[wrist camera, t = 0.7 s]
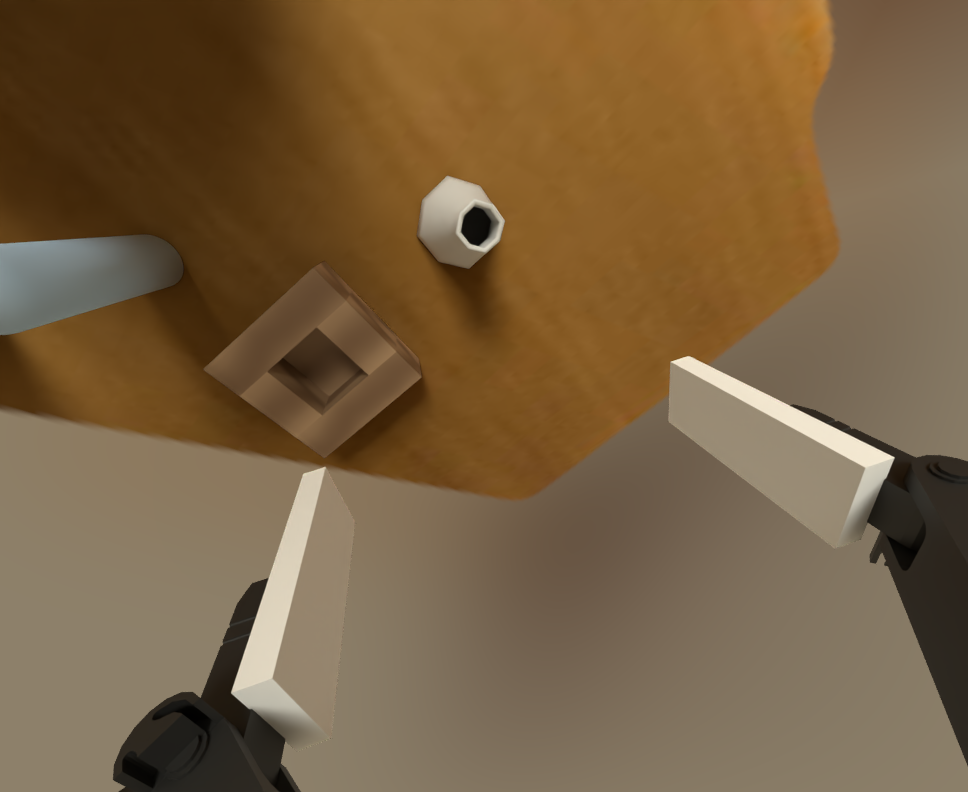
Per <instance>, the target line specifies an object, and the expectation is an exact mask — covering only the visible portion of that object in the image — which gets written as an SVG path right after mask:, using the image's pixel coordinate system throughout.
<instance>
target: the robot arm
mask: <svg viewBox="0 0 968 792" xmlns="http://www.w3.org/2000/svg"><path fill="white" fill-rule="evenodd" d="M668 421H669V422H670V423H671V424H672V425H674V426H675V427H676V428H678V429H679V430H680V431H682V432H683V433H684V434H685V435H687V436H688V437H689V438H691V439H692V440H693V441H695V442H696V443H697V444H699V445H700V446H701V447H702V448H704V449H705V450H706V451H708V452H709V453H710V454H712V455H713V456H714V457H716V458H717V459H718V460H720V461H721V462H722V463H724V464H725V465H726V466H727V467H729V468H730V469H731V470H733V471H734V472H735V473H736V474H738V475H739V476H740V477H742V478H743V479H744V480H746V481H747V482H748V483H750V484H751V485H752V486H754V487H755V488H756V489H757V490H759V491H760V492H761V493H763V494H764V495H765V496H767V497H768V498H769V499H771V500H772V501H773V502H774V503H776V504H777V505H778V506H780V507H781V508H782V509H784V510H785V511H786V512H788V513H789V514H790V515H792V516H793V517H794V518H795V519H797V520H798V521H799V522H801V523H802V524H803V525H805V526H806V527H807V528H809V529H810V530H811V531H812V532H814V533H815V534H816V535H818V536H819V537H820V538H822V539H823V540H824V541H826V542H827V543H828V544H829V545H831V546H832V547H834V548H835V549H836V548H839V547H842V546H845V545H847V544H850V543H852V542H855V541H858V540H861V538H862V535H863V533H864V530H865V528H866V525H867V523H870V524H871V525H872V526H874V527H875V528H877V529H878V530H880V534H879V536H878V538H877V540H876V542H875V545H874V547H873V549H872V551H871V554H870V562H871V563H876V562H877V560H878V558H879V556H880V554H881V553H883V555H884V557H885V560H886V562H885V564H884V565H885V566H888V567H889V570H890V572H891V575H892V577H893V580H894V582H895V585H896V587H897V590H898V593H899V595H900V597H901V600H902V603H903V605H904V608H905V610H906V613H907V615H908V618H909V620H910V622H911V625H912V627H913V630H914V633H915V635H916V638H917V640H918V643H919V645H920V648H921V650H922V652H923V655H924V658H925V660H926V663H927V665H928V667H929V670H930V673H931V675H932V678H933V680H934V683H935V685H936V688H937V690H938V692H939V695H940V698H941V700H942V703H943V705H944V708H945V710H946V713H947V715H948V718H949V720H950V723H951V725H952V728H953V730H954V733H955V735H956V738H957V740H958V743H959V745H960V748H961V750H962V753H963V755H964V758H965V760H966V763H967V765H968V462H967V461H964V460H961V459H958V458H953V457H947V456H941V455H926V456H921V457H917V458H916V457H913V456H911V455H909V454H907V453H905V452H903V451H901V450H898V449H897V448H894V447H892V446H890V445H888V444H886V443H884V442H882V441H880V440H877V439H875V438H873V437H871V436H869V435H867V434H865V433H863V432H861V431H858V430H856V429H851V428H850V427H849V426H848V425H846V424H843V423H842V422H839V421H835V420H834V419H833V418H831V417H829V416H827V415H824V414H822V413H820V412H818V411H816V410H813V409H809V408H805V407H801V406H798V405H790V406H789V405H787V404H785V403H783V402H781V401H779V400H777V399H775V398H773V397H771V396H769V395H767V394H765V393H763V392H761V391H758V390H757V389H755V388H752V387H750V386H748V385H746V384H744V383H742V382H740V381H738V380H736V379H734V378H732V377H730V376H728V375H726V374H724V373H722V372H720V371H718V370H716V369H714V368H712V367H710V366H708V365H706V364H704V363H702V362H700V361H698V360H696V359H694V358H692V357H690V356H688V357H684V358H681V359H678V360H675V361H671V364H670V392H669V420H668ZM354 530H355V521H354V519H353V517H352V515H351V513H350V511H349V509H348V508H347V506H346V504H345V502H344V500H343V498H342V496H341V495H340V493H339V491H338V489H337V487H336V485H335V483H334V481H333V480H332V478H331V476H330V474H329V472H328V470H327V468H326V467H324V468H320V469H317V470H314V471H311V472H308V473H304V474H303V476H302V479H301V483H300V486H299V489H298V492H297V495H296V498H295V501H294V504H293V507H292V510H291V513H290V516H289V519H288V522H287V525H286V528H285V531H284V534H283V537H282V540H281V543H280V546H279V549H278V552H277V555H276V558H275V561H274V564H273V567H272V571H271V573H270V576H269V578H267V579H264V580H261V581H258V582H255V583H252V584H251V585H250V587H249V588H248V590H247V591H246V592H245V594H244V595H243V596H242V598H241V599H240V601H239V602H238V604H237V606H236V608H235V611H234V614H233V616H232V619H231V621H230V628H228V629H227V631H226V635H225V637H224V639H223V645H222V646H221V647H220V650H219V652H218V655H217V657H216V660H215V662H214V665H213V668H212V670H211V673H210V676H209V678H208V680H207V683H206V686H205V688H204V691H203V693H202V696H201V698H200V697H198V696H197V695H196V694H195V693H193V692H181V693H179V694H176V695H174V696H172V697H170V698H168V699H166V700H164V701H163V702H162V703H160V704H159V705H158V706H156V707H155V708H154V709H152V710H151V711H150V712H149V713H148V714H147V715H146V716H145V717H144V718H143V719H142V720H141V721H140V723H139V724H138V725H137V726H136V727H135V728H134V729H133V731H132V732H131V734H130V735H129V737H128V738H127V740H126V741H125V743H124V744H123V745H122V747H121V749H120V752H119V754H118V757H117V759H116V761H115V764H114V774H113V780H114V781H116V782H118V783H120V784H122V785H124V786H125V788H124V789H122V790H121V791H119V792H301V791H300V790H299V788H298V787H297V785H296V783H295V782H294V780H293V778H292V777H291V775H290V774H289V772H288V770H287V769H286V767H284V766H283V765H282V764H281V759H282V754H283V749H284V744H285V741H286V742H287V743H288V744H289V745H290V746H291V747H292V748H294V749H295V750H296V751H299V750H302V749H305V748H307V747H310V746H312V745H315V744H318V743H321V742H323V741H326V740H329V739H331V734H332V725H333V717H334V707H335V698H336V689H337V681H338V671H339V663H340V654H341V646H342V637H343V628H344V619H345V609H346V600H347V592H348V583H349V574H350V565H351V557H352V547H353V538H354Z"/></svg>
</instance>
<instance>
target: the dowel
mask: <svg viewBox="0 0 968 792" xmlns="http://www.w3.org/2000/svg"><path fill="white" fill-rule="evenodd" d="M183 271H184V267H183V262H182V259H181V257H180V255H179V253H178V252H177V251H176V250H175V248H174V247H173V246H172V245H170V244H169V243H168V242H166V241H165V240H163V239H161V238H159V237H156V236H153V235H146V234H143V235H128V236H112V237H97V238H82V239H67V240H52V241H37V242H22V243H7V244H0V335H9V334H15V333H19V332H22V331H25V330H29V329H32V328H35V327H39V326H42V325H45V324H48V323H52V322H55V321H58V320H62V319H65V318H68V317H71V316H75V315H78V314H81V313H85V312H88V311H91V310H94V309H98V308H101V307H104V306H108V305H111V304H114V303H117V302H121V301H124V300H127V299H131V298H134V297H137V296H140V295H144V294H147V293H150V292H154V291H157V290H160V289H163V288H167V287H170V286H173V285H175V284H176V283H177V282H179V280H180V279H181V278H182V275H183Z"/></svg>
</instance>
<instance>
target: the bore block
mask: <svg viewBox="0 0 968 792" xmlns="http://www.w3.org/2000/svg"><path fill="white" fill-rule="evenodd" d="M203 370H204V371H206V372H207V373H208V374H210V375H211V376H212V377H214V378H215V379H217V380H218V381H219V382H221V383H222V384H223V385H225V386H226V387H227V388H229V389H230V390H232V391H233V392H234V393H236V394H237V395H238V396H240V397H241V398H242V399H244V400H245V401H247V402H248V403H249V404H251V405H252V406H253V407H255V408H256V409H258V410H259V411H260V412H262V413H263V414H264V415H266V416H267V417H268V418H270V419H271V420H273V421H274V422H275V423H277V424H278V425H279V426H281V427H282V428H284V429H285V430H286V431H288V432H289V433H290V434H292V435H293V436H294V437H296V438H297V439H299V440H300V441H301V442H303V443H304V444H305V445H307V446H308V447H309V448H311V449H312V450H314V451H315V452H316V453H318V454H319V455H320V456H322V457H323V458H326V457H327V456H328V455H329V454H331V453H332V452H333V451H334V450H335V449H337V448H338V447H339V446H340V445H341V444H343V443H344V442H345V441H346V440H347V439H348V438H350V437H351V436H352V435H353V434H354V433H356V432H357V431H358V430H359V429H360V428H362V427H363V426H364V425H365V424H366V423H368V422H369V421H370V420H371V419H372V418H374V417H375V416H376V415H377V414H378V413H380V412H381V411H382V410H383V409H384V408H386V407H387V406H388V405H389V404H390V403H392V402H393V401H394V400H395V399H396V398H398V397H399V396H400V395H401V394H402V393H404V392H405V391H406V390H407V389H408V388H409V387H411V386H412V385H413V384H414V383H415V382H417V381H418V380H419V379H420V378H421V377H422V375H421V369H420V363H419V358H418V357H417V356H416V355H415V354H414V353H413V352H412V351H411V350H410V349H409V348H408V347H407V346H406V345H405V344H404V343H403V342H402V341H401V340H400V339H399V338H398V337H397V335H396V334H395V333H394V332H393V331H392V330H391V329H390V328H389V327H388V326H387V325H386V324H385V323H384V322H383V321H382V320H381V319H380V318H379V317H378V316H377V315H376V314H375V313H374V312H373V311H372V310H371V309H370V308H369V306H368V305H367V304H366V303H365V302H364V301H363V300H362V299H361V298H360V297H359V296H358V295H357V294H356V293H355V292H354V291H353V290H352V289H351V288H350V287H349V286H348V285H347V284H346V283H345V282H344V281H343V280H342V279H341V277H340V276H339V275H338V274H337V273H336V272H335V271H334V270H333V269H332V268H331V267H330V266H329V265H328V264H327V263H326V262H325V261H323V262H322V263H320V264H318V265H317V266H315V267H313V268H312V269H311V270H310V271H309V272H308V273H307V274H306V275H305V276H304V277H302V278H301V279H300V280H299V281H298V282H297V283H296V284H295V285H294V286H293V287H292V288H290V289H289V290H288V291H287V292H286V293H285V294H284V295H283V296H282V297H281V298H280V299H279V300H277V301H276V302H275V303H274V304H273V305H272V306H271V307H270V308H269V309H268V310H267V311H266V312H264V313H263V314H262V315H261V316H260V317H259V318H258V319H257V320H256V321H255V322H254V323H253V324H251V325H250V326H249V327H248V328H247V329H246V330H245V331H244V332H243V333H242V334H241V335H240V336H238V337H237V338H236V339H235V340H234V341H233V342H232V343H231V344H230V345H229V346H228V347H227V348H225V349H224V350H223V351H222V352H221V353H220V354H219V355H218V356H217V357H216V358H215V359H214V360H212V361H211V362H210V363H209V364H208V365H207V366H206V367H205V368H204V369H203Z"/></svg>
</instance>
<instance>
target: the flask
mask: <svg viewBox="0 0 968 792" xmlns="http://www.w3.org/2000/svg"><path fill="white" fill-rule="evenodd" d="M504 222H505V220H504V219H503V218H502V216H501V215H500V213H499V212H498V210H497V209H496V207H495V206H494V205H493V204H492V202H491V201H490V199H489V198H488V197H487V195H486V194H485V192H484V191H483V189H482V188H481V187H480V186H479V185H476V184H473V183H470V182H466V181H463V180H460V179H456V178H453V177H450V176H447V177H446V178H444V179H443V180H442V181H441V182H440V183H439V184H438V185H437V186H436V187H435V188H434V189H433V190H432V191H431V192H430V193H429V194H428V195H427V196H426V197H425V198H424V199H423V200H422V205H421V211H420V217H419V224H418V230H417V237H418V238H419V239H420V240H421V241H422V243H423V244H424V245H425V246H426V247H427V249H428V250H429V251H430V252H431V253H432V255H433V256H434V257H435V258H436V259H437V261H438V262H441V263H446V264H450V265H454V266H458V267H463V268H467V269H469V268H470V267H471V266H473V265H474V264H475V263H476V262H477V261H478V260H479V259H480V258H481V257H482V256H484V255H485V254H486V253H487V252H488V251H490V250H491V249H492V248H493V247H494V246H495V245H496V244H497V243H498V242H499V241H500V239H501V235H502V231H503V226H504Z"/></svg>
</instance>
